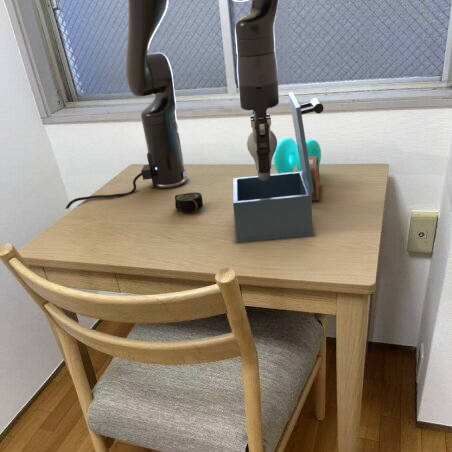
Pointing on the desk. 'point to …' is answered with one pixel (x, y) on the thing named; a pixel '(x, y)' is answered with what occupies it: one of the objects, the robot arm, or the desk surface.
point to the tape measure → (188, 202)
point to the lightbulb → (252, 149)
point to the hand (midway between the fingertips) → (263, 167)
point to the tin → (314, 176)
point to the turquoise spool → (293, 154)
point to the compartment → (272, 207)
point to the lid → (300, 134)
